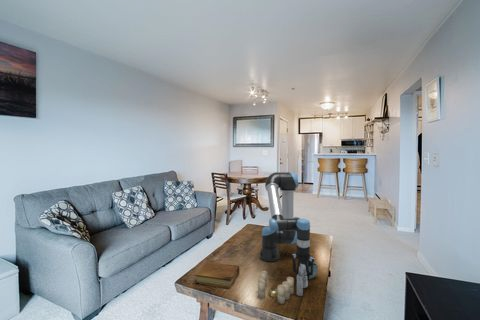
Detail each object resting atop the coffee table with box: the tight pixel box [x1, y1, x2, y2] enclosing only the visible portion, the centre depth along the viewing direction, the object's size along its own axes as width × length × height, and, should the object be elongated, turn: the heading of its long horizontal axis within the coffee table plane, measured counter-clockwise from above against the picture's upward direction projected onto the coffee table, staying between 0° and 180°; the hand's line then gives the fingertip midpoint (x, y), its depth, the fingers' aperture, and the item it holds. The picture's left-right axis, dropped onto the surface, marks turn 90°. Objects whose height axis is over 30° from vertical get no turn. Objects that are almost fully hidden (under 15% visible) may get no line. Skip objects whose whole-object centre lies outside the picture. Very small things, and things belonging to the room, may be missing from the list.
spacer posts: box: [257, 270, 295, 305], centre depth 131 cm, size 14×20×8 cm
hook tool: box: [296, 264, 307, 297], centre depth 135 cm, size 13×4×12 cm, turn 155°
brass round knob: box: [268, 287, 277, 298], centre depth 131 cm, size 5×5×3 cm
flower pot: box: [300, 259, 319, 280], centre depth 150 cm, size 9×9×9 cm
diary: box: [194, 261, 240, 290], centre depth 149 cm, size 23×19×6 cm
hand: (302, 284), depth 139 cm, fingers closed on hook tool, 4 cm apart
